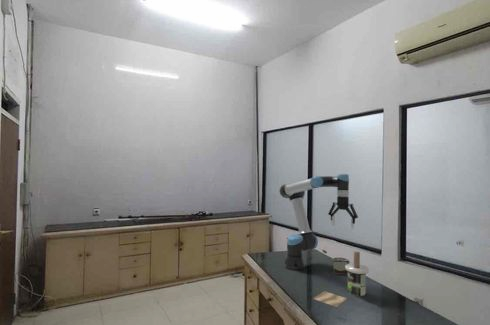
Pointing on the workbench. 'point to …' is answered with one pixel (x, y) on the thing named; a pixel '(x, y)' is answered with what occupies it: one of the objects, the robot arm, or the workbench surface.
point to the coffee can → (356, 284)
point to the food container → (340, 265)
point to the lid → (356, 265)
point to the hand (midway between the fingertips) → (342, 226)
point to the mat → (330, 298)
